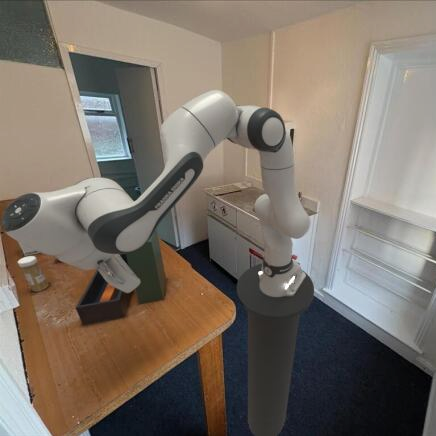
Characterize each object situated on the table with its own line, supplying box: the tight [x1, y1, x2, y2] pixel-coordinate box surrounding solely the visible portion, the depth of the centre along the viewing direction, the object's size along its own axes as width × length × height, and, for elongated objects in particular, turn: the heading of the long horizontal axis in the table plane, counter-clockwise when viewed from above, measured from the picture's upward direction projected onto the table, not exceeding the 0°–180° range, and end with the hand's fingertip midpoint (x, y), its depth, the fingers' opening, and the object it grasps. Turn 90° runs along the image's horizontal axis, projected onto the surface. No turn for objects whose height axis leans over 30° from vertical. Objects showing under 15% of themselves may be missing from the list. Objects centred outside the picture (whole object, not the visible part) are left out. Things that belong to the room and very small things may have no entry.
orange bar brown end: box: [99, 283, 118, 302], centre depth 87 cm, size 20×4×4 cm, turn 20°
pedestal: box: [126, 228, 167, 305], centre depth 87 cm, size 12×8×26 cm, turn 21°
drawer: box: [75, 253, 133, 326], centre depth 89 cm, size 30×12×8 cm, turn 21°
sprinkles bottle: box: [17, 255, 50, 293], centre depth 86 cm, size 5×5×13 cm
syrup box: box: [17, 241, 41, 257], centre depth 105 cm, size 6×6×14 cm
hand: (127, 269), depth 64 cm, fingers open, 8 cm apart
